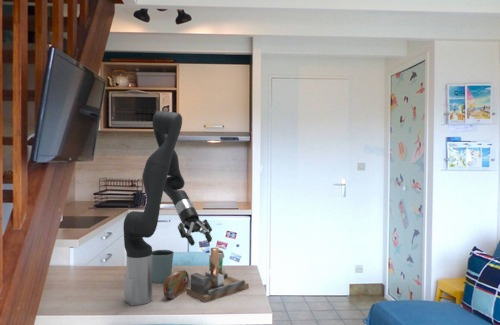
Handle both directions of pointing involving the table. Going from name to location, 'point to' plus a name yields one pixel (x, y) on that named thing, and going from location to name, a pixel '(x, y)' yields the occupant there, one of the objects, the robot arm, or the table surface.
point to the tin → (175, 284)
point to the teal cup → (161, 265)
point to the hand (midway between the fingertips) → (202, 242)
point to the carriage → (215, 270)
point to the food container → (221, 256)
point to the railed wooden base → (205, 294)
